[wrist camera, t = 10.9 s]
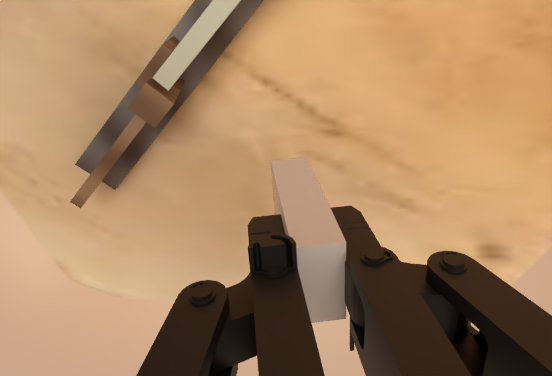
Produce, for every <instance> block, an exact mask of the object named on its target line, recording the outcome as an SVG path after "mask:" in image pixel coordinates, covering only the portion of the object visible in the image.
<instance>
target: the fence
mask: <svg viewBox="0 0 552 376" xmlns="http://www.w3.org/2000/svg"><path fill="white" fill-rule="evenodd" d="M212 1H213V0H195V1H194V2H193V4H192V5H191V6H190V8H189V9H188V10H187V12H186V13H185V15H184V16H183V17H182V19H181V20H180V21H179V23H178V24H177V26H176V27H175V28H174V30H173V31H172V32H171V34H170V35H169V37H168V38H167V39H166V41H165V42H164V43H163V44H162V46H161V47H160V49H159V50H158V51H157V53H156V54H155V55H154V57H153V58H152V60H151V61H150V62H149V64H148V65H147V66H146V68H145V69H144V71H143V72H142V73H141V75H140V76H139V77H138V79H137V80H136V82H135V83H134V85H133V86H132V87H131V89H130V90H129V91H128V93H127V94H126V96H125V97H124V98H123V100H122V101H121V102H120V104H119V105H118V107H117V108H116V109H115V111H114V112H113V113H112V115H111V116H110V117H109V119H108V120H107V122H106V123H105V124H104V126H103V127H102V128H101V130H100V131H99V133H98V134H97V135H96V137H95V138H94V139H93V141H92V142H91V144H90V145H89V146H88V148H87V149H86V150H85V152H84V153H83V155H82V156H81V157H80V159H79V160H78V161H77V163H76V164H75V165H77V166H79V167H80V168H82V169H83V170H85V171H86V172H88V173H90V174H91V175H90V176H89V177H88V179H87V180H86V181H85V183H84V184H83V185H82V187H81V188H80V189H79V191H78V192H77V193H76V195H75V196H74V197H73V199H72V200H71V201H70V202H71V203H73V204H75V205H76V206H78V207H80V208H81V207H82V206H83V205H84V203H85V202H86V201H87V199H88V198H89V197H90V195H91V194H92V193H93V191H94V190H95V189H96V188H97V186H98V185H99V184H100V182H101V181H102V182H104V183H105V184H107V185H108V186H110V187H112V188H113V189H116V188H117V187H118V186H119V184H120V183H121V182H122V181H123V179H124V178H125V177H126V175H127V174H128V173H129V172H130V170H131V169H132V168H133V166H134V165H135V164H136V163H137V161H138V160H139V159H140V157H141V156H142V155H143V154H144V152H145V151H146V150H147V148H148V147H149V146H150V145H151V143H152V142H153V141H154V139H155V138H156V137H157V136H158V134H159V133H160V132H161V131H162V129H163V128H164V127H165V125H166V124H167V123H168V122H169V120H170V119H171V118H172V116H173V115H174V114H175V113H176V111H177V110H178V109H179V107H180V106H181V105H182V104H183V102H184V101H185V100H186V98H187V97H188V96H189V95H190V93H191V92H192V91H193V89H194V88H195V87H196V86H197V84H198V83H199V82H200V81H201V79H202V78H203V77H204V75H205V74H206V73H207V72H208V70H209V69H210V68H211V66H212V65H213V64H214V63H215V61H216V60H217V59H218V57H219V56H220V55H221V54H222V52H223V51H224V50H225V48H226V47H227V46H228V45H229V43H230V42H231V41H232V39H233V38H234V37H235V36H236V34H237V33H238V32H239V30H240V29H241V28H242V27H243V25H244V24H245V23H246V22H247V20H248V19H249V18H250V16H251V15H252V14H253V13H254V11H255V10H256V9H257V7H258V6H259V5H260V4H261V2H262V1H263V0H241V1H240V2H239V3H238V4H237V6H236V7H235V8H234V9H233V11H232V12H231V13H230V14H229V16H228V17H227V18H226V19H225V21H224V22H223V23H222V24H221V26H220V27H219V28H218V29H217V31H216V32H215V33H214V34H213V36H212V37H211V38H210V39H209V41H208V42H207V43H206V44H205V46H204V47H203V48H202V49H201V51H200V52H199V53H198V54H197V56H196V57H195V58H194V59H193V61H192V62H191V63H190V64H189V66H188V67H187V68H186V69H185V71H184V72H183V73H182V74H181V76H180V77H179V78H178V79H177V81H176V82H175V83H174V84H173V86H172V87H171V88H170V89H169V91H168V90H167V89H166V88H164V87H163V86H162V85H161V84H159V83H158V82H157V81H156V80H154V79H153V76H154V75H155V74H156V73H157V71H158V70H159V69H160V67H161V66H162V65H163V64H164V62H165V61H166V60H167V58H168V57H169V56H170V55H171V53H172V52H173V51H174V49H175V48H176V47H177V46H178V44H179V43H180V42H181V40H182V39H183V38H184V37H185V35H186V34H187V33H188V31H189V30H190V29H191V28H192V26H193V25H194V24H195V22H196V21H197V20H198V19H199V17H200V16H201V15H202V13H203V12H204V11H205V10H206V8H207V7H208V6H209V5H210V3H211V2H212Z"/></svg>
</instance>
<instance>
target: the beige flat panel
mask: <svg viewBox="0 0 552 376" xmlns="http://www.w3.org/2000/svg"><path fill="white" fill-rule="evenodd" d="M240 1H241V0H213V1H212V2H211V3H210V5H209V6H208V7H207V8H206V10H205V11H204V12H203V13H202V15H201V16H200V17H199V19H198V20H197V21H196V22H195V24H194V25H193V26H192V28H191V29H190V30H189V31H188V33H187V34H186V35H185V37H184V38H183V39H182V40H181V42H180V43H179V44H178V46H177V47H176V48H175V49H174V51H173V52H172V53H171V55H170V56H169V57H168V58H167V60H166V61H165V62H164V64H163V65H162V66H161V67H160V69H159V70H158V71H157V73H156V74H155V75H154V76H153V79H154V80H156V81H157V82H158V83H159V84H161V85H162V86H163V87H164V88H166V89H167V90H168V91H169V89H170V88H171V87H172V86H173V84H174V83H175V82H176V81H177V79H178V78H179V77H180V76H181V74H182V73H183V72H184V71H185V69H186V68H187V67H188V66H189V64H190V63H191V62H192V61H193V59H194V58H195V57H196V56H197V54H198V53H199V52H200V51H201V49H202V48H203V47H204V46H205V44H206V43H207V42H208V41H209V39H210V38H211V37H212V36H213V34H214V33H215V32H216V31H217V29H218V28H219V27H220V26H221V24H222V23H223V22H224V21H225V19H226V18H227V17H228V16H229V14H230V13H231V12H232V11H233V9H234V8H235V7H236V6H237V4H238V3H239V2H240Z"/></svg>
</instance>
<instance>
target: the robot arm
mask: <svg viewBox="0 0 552 376" xmlns="http://www.w3.org/2000/svg"><path fill="white" fill-rule="evenodd" d="M271 170H272V183H273V195H274V208H275V215H270V216H261V217H253V218H252V220H251V221H250V223H249V224H248V235H249V246H248V254H249V262H250V273H249V275H248V276H247V277H246V278H245V279H244V280H243V281H241V282H240V283H238V284H236V285H234V286H231V287H228V288H225V286H224V285H223V284H221V283H219V282H217V281H211V280H205V281H199V282H196V283H193V284H190V285H189V286H187V287H186V288H184V289H183V290H182V291H181V292H180V294H179V295H178V297H177V299H176V301H175V303H174V304H173V306H172V308H171V310H170V312H169V314H168V316H167V318H166V320H165V322H164V324H163V326H162V327H161V329H160V331H159V333H158V335H157V337H156V339H155V341H154V343H153V345H152V347H151V349H150V351H149V353H148V355H147V356H146V358H145V360H144V362H143V364H142V366H141V368H140V370H139V372H138V374H137V376H236V374H237V370H238V363H240V362H243V361H245V360H248V359H250V358H252V357H255V356H257V358H258V371H259V376H324V372H323V368H322V364H321V360H320V356H319V352H318V348H317V344H316V340H315V336H314V332H313V328H312V324H311V323H315V322H323V321H330V320H338V319H346V306H347V309H348V312H349V314H350V351H352V350H354V343H355V346H356V349H357V351H358V354H359V357H360V360H361V363H362V366H363V368H364V371H365V374H366V376H552V316H551V315H550V314H548V313H547V312H546V311H544V310H543V309H541V308H540V307H539V306H537V305H536V304H535V303H533V302H532V301H531V300H529V299H528V298H526V297H525V296H524V295H522V294H521V293H519V292H518V291H517V290H515V289H514V288H512V287H511V286H510V285H508V284H507V283H506V282H504V281H503V280H502V279H500V278H499V277H497V276H496V275H495V274H493V273H492V272H490V271H489V270H488V269H486V268H485V267H484V266H482V265H481V264H479V263H478V262H477V261H475V260H474V259H472V258H471V257H469V256H467V255H465V254H462V253H458V252H453V251H442V252H436V253H434V254H432V255H431V256H430V257H429V258H428V260H427V265H421V264H410V263H404V262H401V261H400V260H399V259H398V257H397V256H396V255H395V254H394V253H393V252H392V251H391V250H389V249H387V248H384V247H381V246H380V244H379V242H378V241H377V239H376V237H375V236H374V234H373V232H372V230H371V229H370V228H369V225H368V224H367V222H366V221H365V219H364V217H363V215H362V214H361V212H360V211H358V210H357V209H355V208H354V207H352V206H344V207H334V208H330V206H329V204H328V202H327V200H326V197H325V195H324V193H323V191H322V189H321V187H320V185H319V182H318V180H317V178H316V176H315V174H314V172H313V169H312V167H311V165H310V163H309V161H308V159H307V157H300V158H290V159H280V160H271ZM471 322H472V323H473V324H474V325H475V326H476V327H477V328H478V329H479V330H480V331H479V332H478V331H477V330H475V329H474V328H473V327H472V326H471V325H470V324H471Z"/></svg>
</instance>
